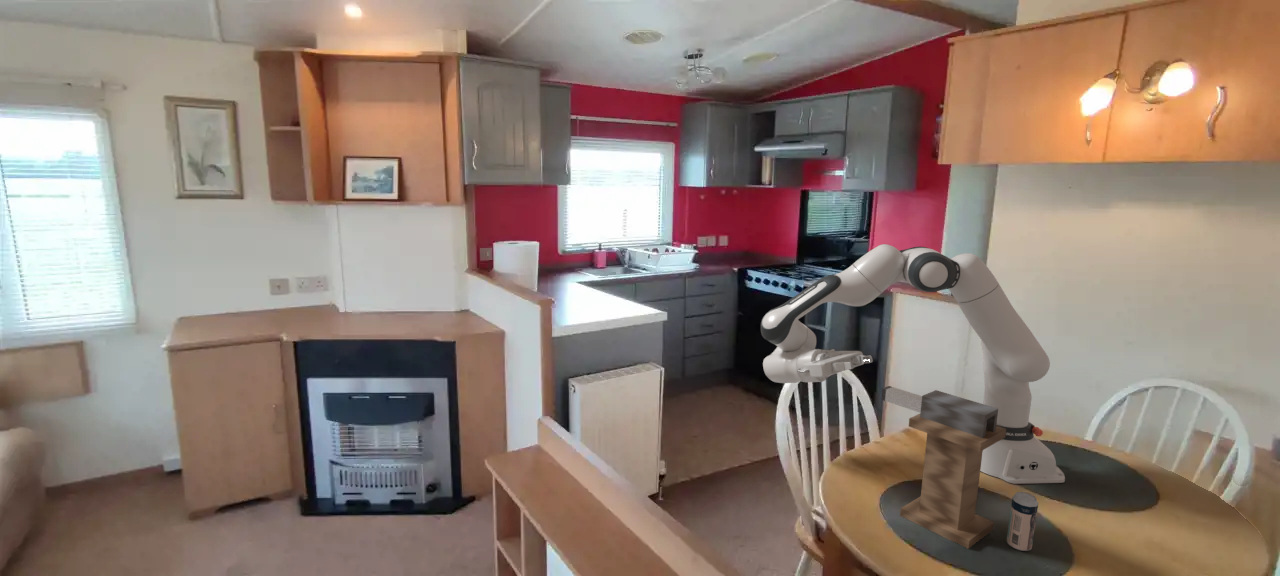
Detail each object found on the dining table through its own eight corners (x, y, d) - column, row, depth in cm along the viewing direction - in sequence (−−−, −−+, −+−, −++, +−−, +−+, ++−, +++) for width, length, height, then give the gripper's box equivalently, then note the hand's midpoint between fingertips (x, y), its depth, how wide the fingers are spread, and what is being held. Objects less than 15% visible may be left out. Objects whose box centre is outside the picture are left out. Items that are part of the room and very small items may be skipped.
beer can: (1035, 554, 130) (1042, 503, 128) (1011, 551, 131) (1018, 501, 129) (1026, 540, 135) (1033, 492, 132) (1002, 538, 136) (1009, 489, 133)
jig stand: (900, 515, 144) (911, 397, 139) (926, 499, 151) (938, 386, 146) (968, 548, 132) (983, 420, 126) (993, 529, 139) (1009, 407, 133)
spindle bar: (881, 399, 150) (882, 388, 149) (888, 397, 152) (889, 385, 151) (971, 430, 133) (973, 417, 132) (978, 426, 134) (979, 414, 134)
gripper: (791, 360, 157) (837, 356, 147) (833, 348, 171) (878, 344, 160) (795, 384, 157) (842, 382, 146) (837, 370, 170) (883, 367, 160)
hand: (861, 362), depth 153 cm, fingers open, 8 cm apart
